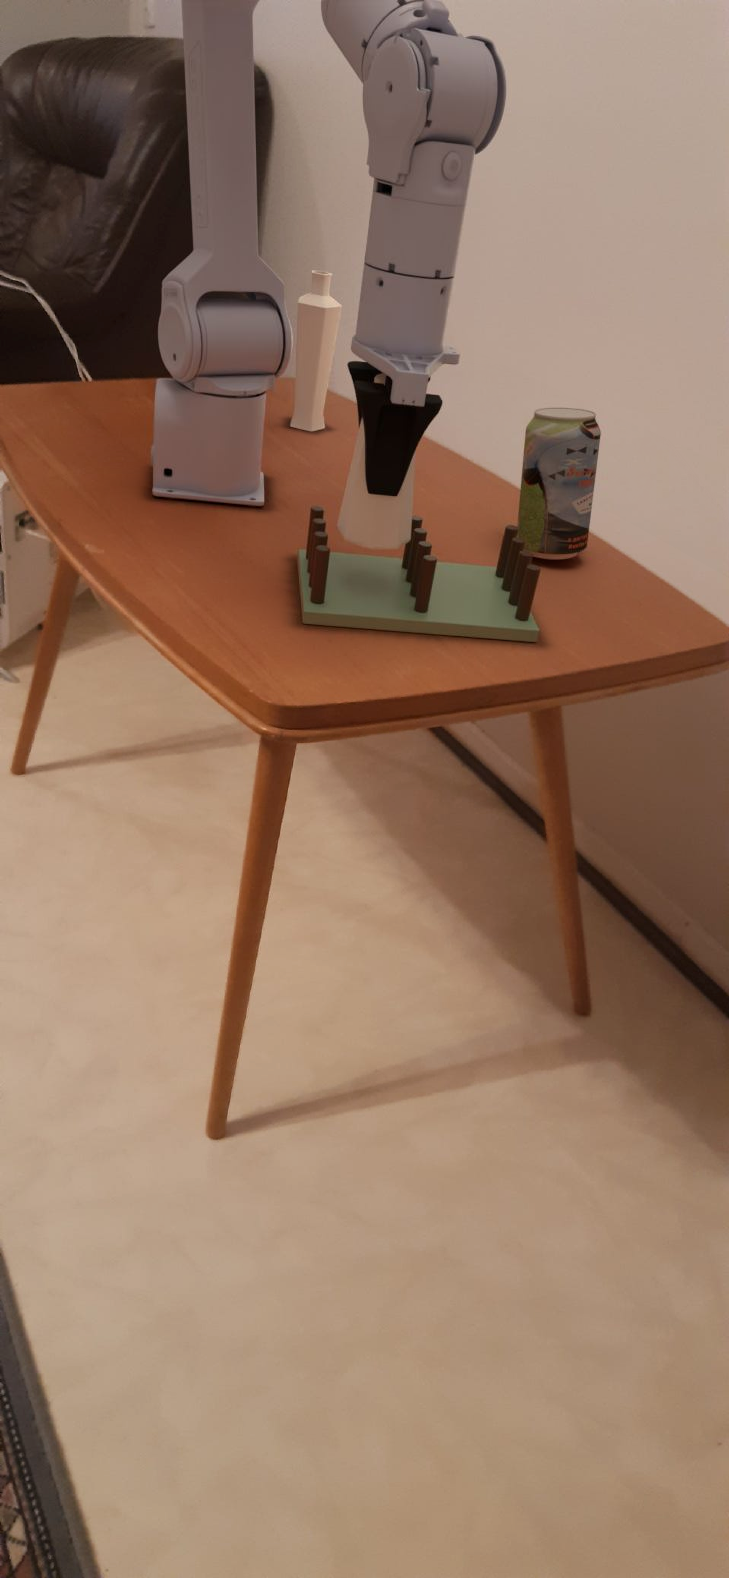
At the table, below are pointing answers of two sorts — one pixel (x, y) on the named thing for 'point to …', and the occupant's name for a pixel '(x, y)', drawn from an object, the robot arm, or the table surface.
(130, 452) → the table surface
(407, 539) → the salt shaker
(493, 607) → the rack
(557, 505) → the beverage can
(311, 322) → the perfume bottle
